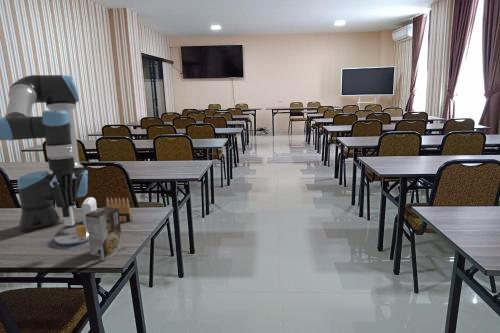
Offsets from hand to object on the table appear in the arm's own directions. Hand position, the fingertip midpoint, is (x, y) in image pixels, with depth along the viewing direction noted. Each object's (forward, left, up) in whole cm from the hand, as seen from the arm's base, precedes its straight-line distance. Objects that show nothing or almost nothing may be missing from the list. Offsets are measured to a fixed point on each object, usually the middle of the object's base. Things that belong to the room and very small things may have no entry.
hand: (69, 224), depth 118 cm
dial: (-8, +8, -10) cm, 15 cm away
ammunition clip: (-6, +29, -12) cm, 32 cm away
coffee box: (+11, +4, -12) cm, 16 cm away
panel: (-8, +8, -11) cm, 16 cm away
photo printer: (-16, +23, -12) cm, 31 cm away
